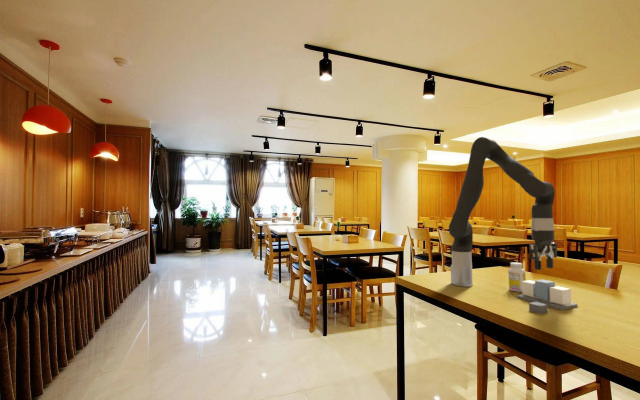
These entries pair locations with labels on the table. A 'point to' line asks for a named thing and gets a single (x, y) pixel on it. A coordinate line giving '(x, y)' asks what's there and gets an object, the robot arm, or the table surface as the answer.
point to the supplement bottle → (516, 276)
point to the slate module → (543, 289)
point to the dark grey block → (538, 307)
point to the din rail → (558, 296)
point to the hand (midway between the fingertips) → (544, 268)
